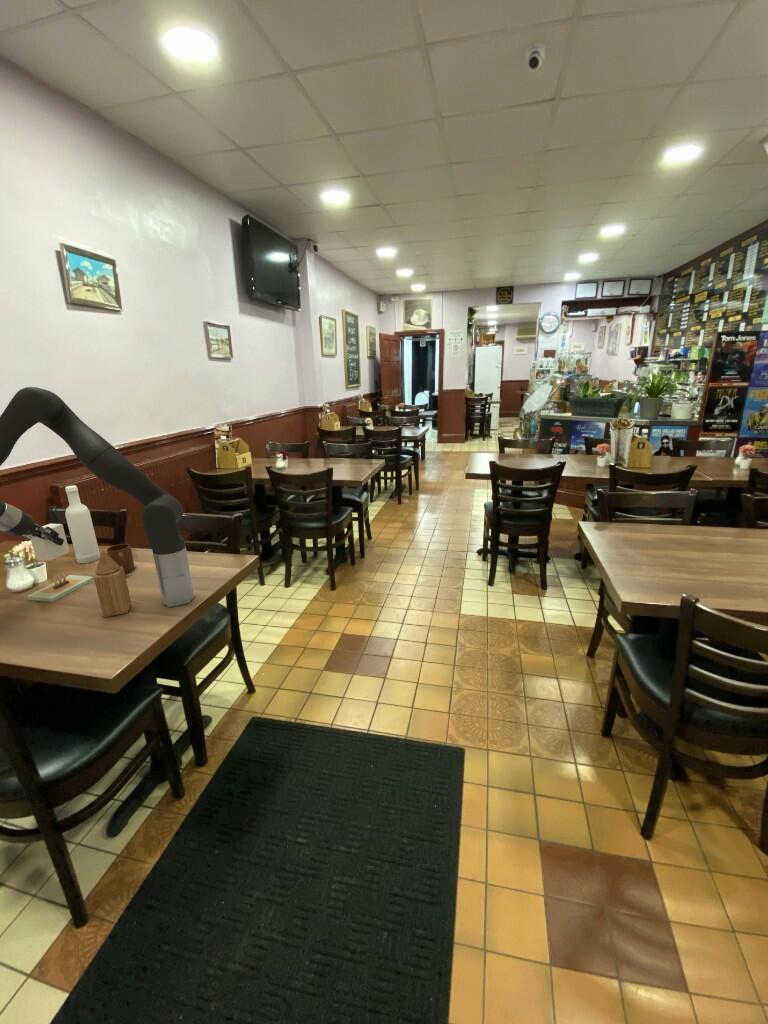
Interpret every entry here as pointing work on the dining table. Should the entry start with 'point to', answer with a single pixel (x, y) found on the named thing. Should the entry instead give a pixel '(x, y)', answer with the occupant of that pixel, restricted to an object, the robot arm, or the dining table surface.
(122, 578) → the decorative item
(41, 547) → the housing
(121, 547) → the mug
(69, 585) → the header board
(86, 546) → the bottle
